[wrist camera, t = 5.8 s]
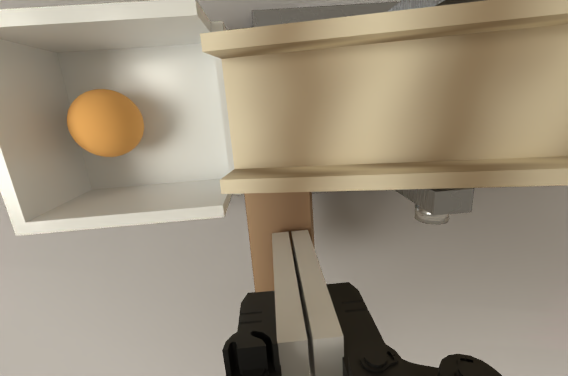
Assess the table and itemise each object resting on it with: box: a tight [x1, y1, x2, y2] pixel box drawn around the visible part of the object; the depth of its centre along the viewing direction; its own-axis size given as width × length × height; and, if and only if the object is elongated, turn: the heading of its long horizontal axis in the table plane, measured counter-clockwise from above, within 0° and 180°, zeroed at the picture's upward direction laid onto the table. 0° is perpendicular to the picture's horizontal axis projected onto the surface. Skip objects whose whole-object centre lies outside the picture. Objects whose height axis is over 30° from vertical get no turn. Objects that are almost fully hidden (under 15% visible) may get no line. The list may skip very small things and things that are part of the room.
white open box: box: [0, 0, 242, 236], centre depth 16 cm, size 9×10×6 cm
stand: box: [252, 0, 485, 224], centre depth 15 cm, size 17×11×8 cm, turn 94°
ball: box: [67, 89, 144, 157], centre depth 16 cm, size 4×4×4 cm
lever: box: [200, 0, 568, 292], centre depth 12 cm, size 18×12×3 cm, turn 94°
